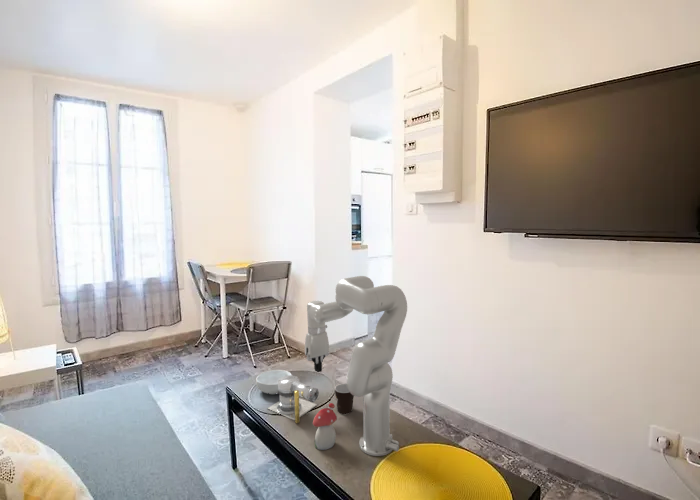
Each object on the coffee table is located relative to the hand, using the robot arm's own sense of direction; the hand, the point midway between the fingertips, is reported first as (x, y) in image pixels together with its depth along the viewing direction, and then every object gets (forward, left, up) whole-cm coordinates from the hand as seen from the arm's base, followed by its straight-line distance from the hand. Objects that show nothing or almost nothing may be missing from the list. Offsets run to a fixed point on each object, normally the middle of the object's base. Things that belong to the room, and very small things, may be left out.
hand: (318, 371), depth 159 cm
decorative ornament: (-19, +20, -17) cm, 32 cm away
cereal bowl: (+27, 0, -17) cm, 32 cm away
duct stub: (+8, +8, -16) cm, 20 cm away
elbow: (+4, +9, -8) cm, 13 cm away
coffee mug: (-11, -5, -17) cm, 20 cm away
